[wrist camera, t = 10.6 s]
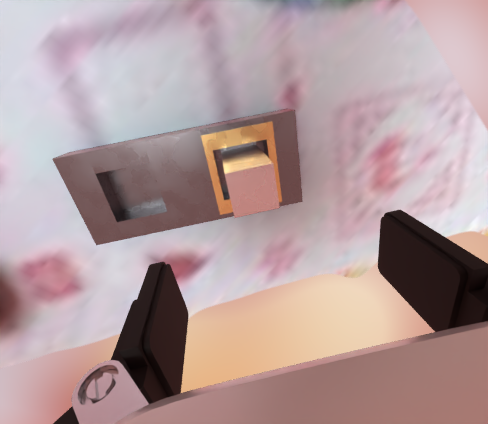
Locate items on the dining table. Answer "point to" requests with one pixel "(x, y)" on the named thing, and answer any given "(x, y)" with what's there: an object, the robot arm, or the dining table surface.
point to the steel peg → (250, 180)
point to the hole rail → (174, 175)
